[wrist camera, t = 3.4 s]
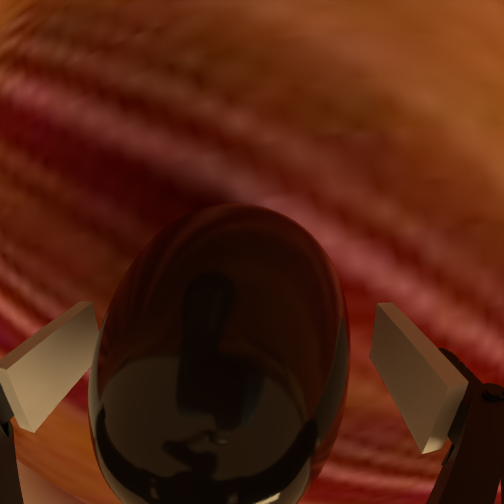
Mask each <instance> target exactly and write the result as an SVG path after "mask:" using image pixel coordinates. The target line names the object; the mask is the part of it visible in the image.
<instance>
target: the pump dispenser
mask: <svg viewBox="0 0 504 504" xmlns="http://www.w3.org/2000/svg"><path fill="white" fill-rule="evenodd" d="M350 351H351V342H350V325H349V317H348V310H347V305H346V300H345V296H344V291H343V288H342V284H341V281H340V278H339V275H338V273H337V271H336V268H335V266H334V264H333V262H332V261H331V259H330V257H329V256H328V254H327V252H326V251H325V250H324V248H323V247H322V246H321V244H320V243H319V242H318V241H317V240H316V238H315V237H314V236H313V235H312V234H311V233H310V232H308V231H307V230H306V229H305V228H304V227H303V226H301V225H300V224H299V223H297V222H296V221H294V220H292V219H291V218H289V217H287V216H285V215H283V214H281V213H279V212H277V211H274V210H271V209H269V208H265V207H261V206H257V205H251V204H243V203H226V204H218V205H212V206H208V207H204V208H201V209H198V210H195V211H193V212H190V213H188V214H186V215H184V216H182V217H180V218H179V219H177V220H175V221H174V222H172V223H171V224H169V225H168V226H166V227H165V228H164V229H163V230H161V231H160V232H159V233H158V234H157V235H156V236H155V237H154V238H153V239H152V240H151V241H150V242H149V243H148V244H147V245H146V246H145V248H144V249H143V250H142V251H141V252H140V254H139V255H138V256H137V257H136V259H135V260H134V261H133V263H132V264H131V266H130V267H129V269H128V270H127V272H126V273H125V275H124V276H123V278H122V280H121V282H120V284H119V285H118V287H117V289H116V291H115V293H114V296H113V298H112V300H111V302H110V305H109V307H108V310H107V312H106V315H105V318H104V320H103V323H102V326H101V329H100V333H99V336H98V339H97V343H96V346H95V350H94V355H93V359H92V364H91V370H90V378H89V386H88V420H89V429H90V435H91V441H92V446H93V450H94V454H95V457H96V460H97V463H98V466H99V469H100V471H101V473H102V475H103V477H104V479H105V481H106V483H107V484H108V486H109V487H110V489H111V490H112V492H113V493H114V494H115V495H116V496H117V498H118V499H119V500H120V501H121V502H122V503H123V504H298V503H299V502H300V501H301V499H302V498H303V497H304V496H305V495H306V493H307V492H308V491H309V489H310V488H311V486H312V485H313V484H314V482H315V481H316V479H317V477H318V476H319V474H320V473H321V471H322V469H323V467H324V465H325V464H326V462H327V460H328V457H329V455H330V453H331V451H332V448H333V446H334V443H335V441H336V438H337V435H338V432H339V429H340V425H341V422H342V418H343V414H344V409H345V404H346V398H347V391H348V382H349V371H350Z"/></svg>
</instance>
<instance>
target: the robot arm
mask: <svg viewBox="0 0 504 504" xmlns="http://www.w3.org/2000/svg"><path fill="white" fill-rule="evenodd" d="M98 336H99V332H98V327H97V322H96V317H95V312H94V306H93V302H84V301H80V302H78V303H77V304H75V305H74V306H73V307H71V308H70V309H68V310H67V311H66V312H64V313H63V314H61V315H60V316H59V317H57V318H56V319H54V320H53V321H52V322H50V323H49V324H47V325H46V326H45V327H43V328H42V329H41V330H39V331H38V332H37V333H35V334H34V335H33V336H31V337H30V338H28V339H27V340H26V341H24V342H23V343H22V344H20V345H19V346H18V347H17V348H15V349H14V350H13V351H11V352H10V353H9V354H7V355H6V356H5V357H3V358H2V359H1V360H0V504H24V503H23V498H22V493H21V488H20V482H19V476H18V469H17V462H16V454H15V445H14V434H13V426H12V424H11V422H10V419H11V418H12V417H13V416H15V418H16V420H17V422H18V424H19V426H20V428H23V429H25V430H28V431H30V432H33V433H34V432H35V431H36V430H37V429H38V428H39V426H40V425H41V424H42V423H43V421H44V420H45V419H46V418H47V417H48V415H49V414H50V413H51V412H52V411H53V409H54V408H55V407H56V406H57V405H58V404H59V402H60V401H61V400H62V399H63V398H64V396H65V395H66V394H67V393H68V392H69V391H70V389H71V388H72V387H73V386H74V385H75V384H76V382H77V381H78V380H79V379H80V378H81V377H82V376H83V374H84V373H85V372H86V371H87V370H88V369H89V368H90V366H91V364H92V359H93V355H94V350H95V346H96V343H97V339H98ZM370 359H371V360H372V362H373V364H374V366H375V367H376V369H377V371H378V373H379V375H380V376H381V378H382V380H383V382H384V383H385V385H386V387H387V389H388V391H389V393H390V394H391V396H392V398H393V400H394V402H395V404H396V405H397V407H398V409H399V411H400V413H401V415H402V417H403V419H404V420H405V422H406V424H407V426H408V428H409V430H410V432H411V434H412V436H413V438H414V439H415V441H416V443H417V445H418V447H419V449H420V451H421V453H422V454H424V453H427V452H431V451H435V450H439V449H442V446H443V444H444V442H445V440H446V438H447V436H448V437H449V439H450V440H451V442H452V445H451V447H450V449H449V451H448V453H447V455H446V457H445V459H444V461H443V462H442V464H441V465H443V467H442V469H441V471H440V474H439V476H438V479H437V481H436V483H435V485H434V488H433V490H432V492H431V494H430V496H429V498H428V501H427V503H426V504H494V502H495V498H496V494H497V490H498V486H499V481H500V478H501V498H502V504H504V388H503V387H502V386H499V385H496V384H491V383H486V384H482V383H481V381H480V380H479V379H478V378H477V377H476V376H475V375H474V374H473V373H472V372H471V371H470V370H469V369H468V368H467V367H465V365H464V364H463V363H462V362H460V360H459V359H458V358H457V357H456V356H455V355H454V354H453V353H452V352H450V351H448V350H446V349H444V348H439V349H438V348H437V347H436V346H435V345H434V344H433V343H432V342H431V341H430V340H429V339H428V338H427V337H426V336H425V335H424V334H423V333H422V332H421V331H420V330H419V329H418V328H417V327H416V326H415V325H414V324H413V323H412V322H411V321H410V320H409V319H408V318H407V317H406V316H405V315H404V314H403V313H402V312H401V311H400V310H399V309H398V308H397V307H396V306H395V305H394V304H393V303H392V302H390V303H377V306H376V315H375V323H374V330H373V337H372V344H371V350H370Z"/></svg>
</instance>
